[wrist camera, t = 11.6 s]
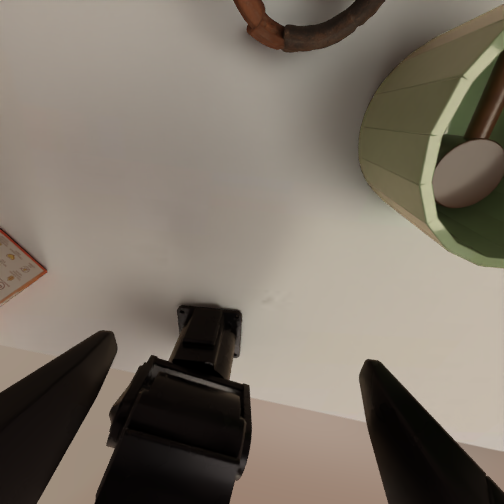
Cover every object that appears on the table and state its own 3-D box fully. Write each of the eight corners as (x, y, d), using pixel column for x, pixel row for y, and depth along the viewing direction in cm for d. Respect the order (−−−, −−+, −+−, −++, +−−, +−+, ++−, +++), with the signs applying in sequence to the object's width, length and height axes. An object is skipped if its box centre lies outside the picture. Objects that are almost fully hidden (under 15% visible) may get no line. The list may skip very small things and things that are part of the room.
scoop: (449, 195, 18) (485, 211, 15) (394, 190, 18) (419, 205, 15) (512, 57, 14) (577, 41, 11) (442, 53, 14) (488, 36, 11)
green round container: (482, 214, 19) (620, 279, 11) (340, 202, 19) (383, 257, 12) (579, 35, 14) (945, -62, 6) (384, 23, 14) (509, -81, 7)
